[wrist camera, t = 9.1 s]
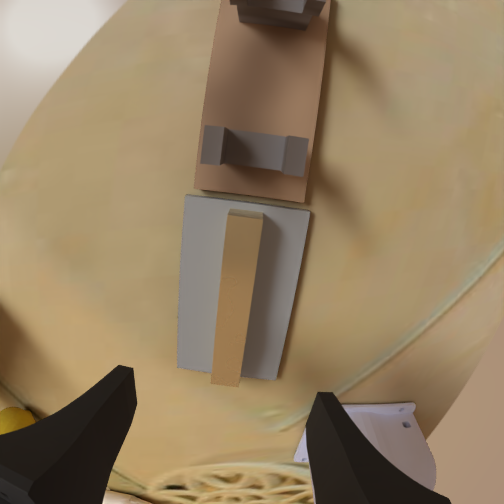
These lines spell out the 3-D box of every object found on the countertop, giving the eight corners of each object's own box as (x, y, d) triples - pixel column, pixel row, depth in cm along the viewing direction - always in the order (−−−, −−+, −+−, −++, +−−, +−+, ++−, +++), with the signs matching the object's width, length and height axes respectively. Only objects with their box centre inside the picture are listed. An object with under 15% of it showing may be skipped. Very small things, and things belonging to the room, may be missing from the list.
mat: (309, 210, 18) (310, 211, 18) (275, 375, 22) (275, 380, 22) (187, 194, 18) (185, 195, 18) (178, 363, 22) (177, 367, 21)
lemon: (49, 410, 25) (16, 464, 17) (51, 436, 27) (24, 485, 19) (8, 384, 24) (-29, 431, 17) (13, 412, 26) (-18, 456, 18)
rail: (262, 212, 18) (263, 219, 16) (239, 370, 21) (238, 387, 20) (230, 208, 18) (227, 214, 16) (213, 366, 21) (210, 383, 20)
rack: (328, -5, 14) (349, -45, 9) (301, 200, 18) (317, 220, 13) (227, -19, 14) (218, -62, 9) (196, 186, 18) (175, 202, 13)
